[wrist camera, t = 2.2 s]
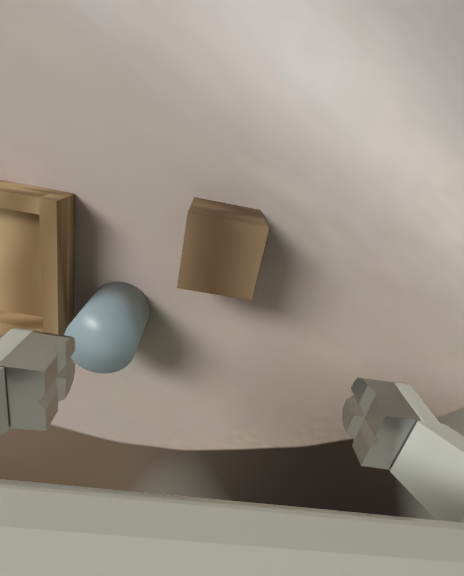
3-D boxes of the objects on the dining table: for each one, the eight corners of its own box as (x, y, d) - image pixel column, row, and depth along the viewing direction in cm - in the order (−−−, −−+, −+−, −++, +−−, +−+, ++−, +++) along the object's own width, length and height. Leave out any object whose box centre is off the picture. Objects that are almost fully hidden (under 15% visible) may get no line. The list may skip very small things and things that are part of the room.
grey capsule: (153, 287, 25) (138, 320, 21) (147, 336, 27) (132, 377, 22) (92, 277, 25) (63, 308, 20) (91, 328, 26) (63, 368, 22)
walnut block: (259, 209, 23) (269, 227, 19) (246, 270, 25) (251, 300, 20) (194, 197, 23) (187, 212, 18) (185, 259, 24) (177, 287, 20)
